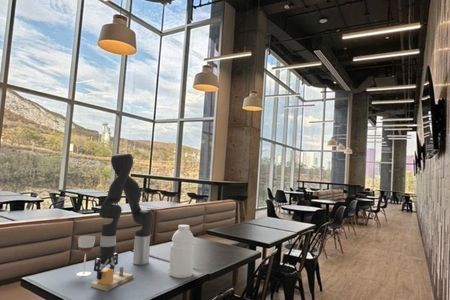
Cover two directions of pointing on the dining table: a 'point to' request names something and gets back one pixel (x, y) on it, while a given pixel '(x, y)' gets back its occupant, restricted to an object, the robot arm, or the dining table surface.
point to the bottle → (182, 253)
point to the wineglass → (85, 250)
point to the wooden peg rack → (114, 280)
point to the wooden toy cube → (106, 276)
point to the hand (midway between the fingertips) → (105, 276)
